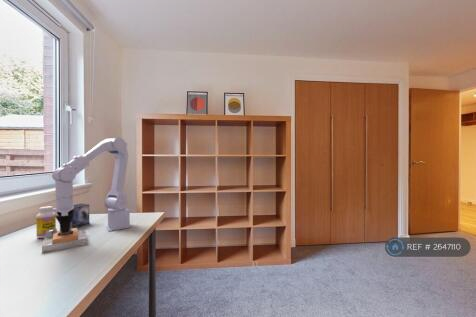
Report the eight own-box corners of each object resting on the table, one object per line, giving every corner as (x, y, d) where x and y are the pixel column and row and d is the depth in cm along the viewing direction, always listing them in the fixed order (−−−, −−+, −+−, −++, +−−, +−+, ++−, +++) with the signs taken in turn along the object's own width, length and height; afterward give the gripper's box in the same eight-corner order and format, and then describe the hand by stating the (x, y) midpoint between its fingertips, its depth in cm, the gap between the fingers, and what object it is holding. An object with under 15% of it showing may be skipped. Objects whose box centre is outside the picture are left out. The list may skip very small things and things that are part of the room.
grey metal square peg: (71, 240, 99) (71, 221, 99) (71, 243, 96) (70, 223, 96) (61, 242, 97) (60, 223, 97) (60, 245, 94) (59, 225, 94)
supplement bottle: (40, 239, 100) (39, 209, 100) (33, 237, 103) (33, 208, 103) (58, 234, 105) (58, 206, 106) (52, 233, 109) (51, 205, 109)
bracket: (76, 227, 108) (76, 224, 108) (77, 238, 94) (77, 235, 94) (54, 231, 104) (54, 227, 103) (52, 243, 89) (52, 239, 89)
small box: (70, 230, 113) (69, 208, 113) (60, 228, 115) (60, 207, 115) (90, 223, 123) (89, 203, 123) (81, 222, 125) (80, 203, 125)
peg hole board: (85, 234, 106) (84, 223, 106) (87, 244, 95) (86, 231, 95) (45, 241, 98) (44, 229, 98) (42, 253, 86) (41, 239, 86)
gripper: (53, 195, 99) (53, 227, 100) (50, 200, 88) (52, 236, 88) (73, 193, 103) (74, 224, 104) (74, 198, 92) (74, 233, 92)
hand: (65, 229), depth 96 cm, fingers open, 7 cm apart
